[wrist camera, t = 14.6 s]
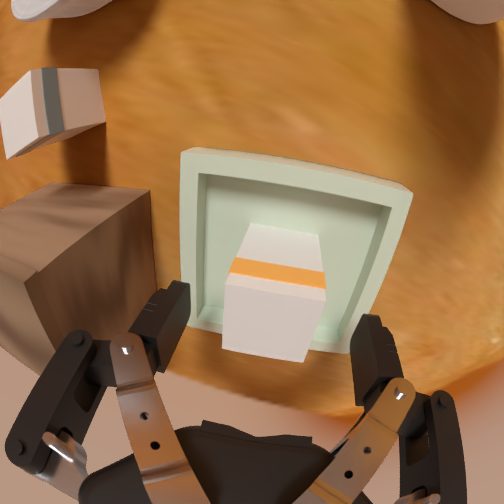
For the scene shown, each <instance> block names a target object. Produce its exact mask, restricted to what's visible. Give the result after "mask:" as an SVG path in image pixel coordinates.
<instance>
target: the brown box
mask: <svg viewBox="0 0 504 504" xmlns="http://www.w3.org/2000/svg"><path fill="white" fill-rule="evenodd" d="M156 290H157V286H156V278H155V268H154V257H153V246H152V232H151V214H150V190H142V189H132V188H121V187H110V186H98V185H84V184H69V183H50V184H48V185H46V186H44V187H42V188H40V189H38V190H36V191H34V192H32V193H30V194H28V195H26V196H24V197H22V198H21V199H19V200H17V201H15V202H13V203H12V204H10V205H8V206H6V207H5V208H3V209H1V210H0V346H1V347H2V348H3V349H5V350H6V351H7V352H9V353H10V354H11V355H12V356H13V357H15V358H16V359H17V360H19V361H20V362H21V363H23V364H24V365H25V366H27V367H28V368H30V369H31V370H33V371H34V372H35V373H37V374H38V375H40V376H41V374H42V372H43V371H44V369H45V368H46V366H47V364H48V363H49V361H50V360H51V358H52V357H53V355H54V353H55V352H56V350H57V349H58V347H59V346H60V344H61V343H62V342H63V340H64V339H65V337H66V336H67V335H68V334H69V333H70V332H72V331H75V330H86V331H88V332H89V333H90V334H91V336H92V338H93V339H94V340H112V339H113V338H114V337H115V336H117V335H119V334H121V333H127V332H128V330H129V329H130V327H131V326H132V324H133V323H134V321H135V320H136V318H137V317H138V315H139V314H140V312H141V311H142V309H143V308H144V306H145V305H146V303H147V302H148V300H149V299H150V297H151V296H152V294H154V293H155V292H156Z"/></svg>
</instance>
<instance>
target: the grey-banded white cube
mask: <svg viewBox="0 0 504 504" xmlns="http://www.w3.org/2000/svg"><path fill="white" fill-rule="evenodd" d="M0 121H1V129H2V136H3V142H4V148H5V153H6V158H7V160H8V159H10V158H13V157H15V156H16V157H17V156H20V155H23V154H25V153H28V152H30V151H32V150H34V149H37V148H40V147H43V146H46V145H49V144H52V143H56V142H59V141H62V140H66V139H69V138H71V137H73V136H75V135H77V134H79V133H81V132H84V131H86V130H88V129H90V128H92V127H95V126H97V125H99V124H102V123H104V122H106V118H105V112H104V107H103V100H102V94H101V87H100V79H99V71H98V69H83V68H57V67H46V68H41V69H31V70H30V71H28V72H27V73H26V74H25V75H24V76H23V77H22V78H21V79H20V80H19V81H18V82H17V83H16V84H15V85H14V86H13V87H12V88H11V89H10V90H9V91H8V92H7V93H6V94H5V95H4V96H3V97H2V98H1V99H0Z"/></svg>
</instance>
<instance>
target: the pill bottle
mask: <svg viewBox="0 0 504 504" xmlns="http://www.w3.org/2000/svg"><path fill="white" fill-rule="evenodd" d="M431 1H432V2H433V3H435V4H436V5H437V6H439V7H440V8H442V9H443V10H445V11H446V12H448V13H449V14H451V15H453V16H455V17H457V18H459V19H461V20H464V21H466V22H470V23H474V24H489V23H493V22H497V21H500V20H504V0H431Z"/></svg>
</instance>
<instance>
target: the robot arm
mask: <svg viewBox="0 0 504 504" xmlns="http://www.w3.org/2000/svg"><path fill="white" fill-rule="evenodd" d="M190 314H191V294H190V284H189V283H186V282H181V281H176V280H173V281H172V282H171V284H170V286H169V287H168V289H167V290H166V289H162V288H161V289H160V290H158V291H157V292H155V293H154V294H152V296H151V297H150V299H149V300H148V302H147V303H146V305H145V306H144V308H143V309H142V311H141V312H140V314H139V315H138V317H137V318H136V320H135V321H134V323H133V324H132V326H131V327H130V329H129V330H128V332H127V333H121V334H119V335H117V336H115V337H114V338H113V339H112V340H94V339H93V338H92V336H91V334H90V333H89V332H88V331H86V330H75V331H72V332H70V333H69V334H68V335H67V336H66V337H65V339H64V340H63V342H62V343H61V344H60V346H59V347H58V349H57V350H56V352H55V353H54V355H53V357H52V358H51V360H50V361H49V363H48V364H47V366H46V368H45V369H44V371H43V372H42V374H41V376H40V377H39V379H38V381H37V382H36V384H35V386H34V387H33V389H32V391H31V393H30V394H29V396H28V398H27V400H26V402H25V403H24V405H23V407H22V409H21V411H20V413H19V415H18V417H17V418H16V420H15V422H14V424H13V426H12V428H11V430H10V433H9V434H8V437H7V439H6V442H5V452H6V454H7V457H8V458H9V460H10V461H11V462H12V463H13V464H15V465H16V466H18V467H20V468H21V469H23V470H24V471H25V472H27V473H29V474H31V475H32V476H34V477H36V478H38V479H40V480H42V481H45V482H47V483H49V484H50V485H52V486H54V487H55V488H57V489H58V490H60V491H62V492H63V493H65V494H67V495H69V496H71V497H72V498H74V499H76V500H78V501H79V504H373V503H372V502H371V501H370V500H369V499H368V497H367V496H366V495H365V494H364V493H363V491H362V490H363V488H364V487H365V486H366V485H367V483H368V482H369V481H370V479H371V478H372V476H373V475H374V474H375V472H376V471H377V469H378V468H379V466H380V465H381V464H382V462H383V461H384V459H385V457H386V456H387V454H388V453H389V451H390V450H391V448H392V446H393V445H394V443H395V442H396V440H397V438H398V435H399V449H400V450H399V452H400V498H399V499H398V500H397V501H396V502H395V503H394V504H467V488H466V472H465V462H464V454H463V446H462V440H461V434H460V428H459V423H458V418H457V413H456V408H455V404H454V400H453V398H452V397H451V396H450V394H448V393H447V392H445V391H443V390H438V391H436V392H434V393H433V394H432V395H431V396H428V395H425V394H421V393H418V392H416V391H415V388H414V386H413V385H412V383H411V382H409V381H408V380H406V379H404V376H403V372H402V368H401V364H400V360H399V356H398V353H397V349H396V346H395V342H394V338H393V335H392V334H391V332H390V331H389V330H388V328H387V327H382V323H381V320H380V317H379V316H378V315H372V314H363V315H362V316H361V318H360V320H359V322H358V324H357V326H356V328H355V330H354V332H353V334H352V337H351V340H350V355H351V363H352V372H353V382H354V393H355V405H356V406H364V412H363V413H362V414H361V416H360V417H359V418H358V419H357V421H356V422H355V423H354V425H353V426H352V427H351V429H350V430H349V431H348V432H347V433H346V435H345V436H344V437H343V438H342V440H341V441H340V442H339V443H338V444H337V445H336V446H335V447H334V448H333V449H332V450H331V451H330V452H328V451H327V450H325V449H324V448H322V447H320V446H318V445H316V444H313V443H312V437H307V436H295V435H278V436H267V437H255V436H252V435H250V434H248V433H245V432H243V431H240V430H238V429H236V428H233V427H231V426H228V425H223V424H218V423H214V422H210V421H206V420H203V421H202V425H201V426H189V427H183V428H180V429H177V430H175V431H174V430H173V428H172V425H171V422H170V420H169V417H168V415H167V413H166V410H165V407H164V405H163V402H162V399H161V397H160V394H159V391H158V388H157V386H156V383H155V380H154V375H155V373H156V371H158V372H161V373H164V372H165V370H166V368H167V366H168V364H169V361H170V359H171V357H172V355H173V353H174V351H175V348H176V346H177V344H178V342H179V340H180V338H181V336H182V333H183V331H184V329H185V327H186V325H187V323H188V321H189V318H190ZM107 386H111V387H117V389H116V394H117V398H118V403H119V406H120V410H121V414H122V418H123V421H124V425H125V428H126V431H127V435H128V438H129V441H130V444H131V447H132V450H133V454H131V455H129V456H127V457H125V458H123V459H121V460H119V461H117V462H115V463H113V464H111V465H109V466H107V467H104V468H102V469H100V470H98V471H96V472H93V473H92V474H90V475H88V474H87V471H86V461H87V455H86V452H85V450H84V448H83V447H82V446H81V445H82V442H83V440H84V437H85V435H86V433H87V431H88V428H89V426H90V424H91V421H92V419H93V417H94V415H95V412H96V410H97V408H98V406H99V403H100V401H101V399H102V397H103V395H104V393H105V391H106V389H107ZM427 433H428V434H427ZM428 441H429V443H428Z"/></svg>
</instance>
